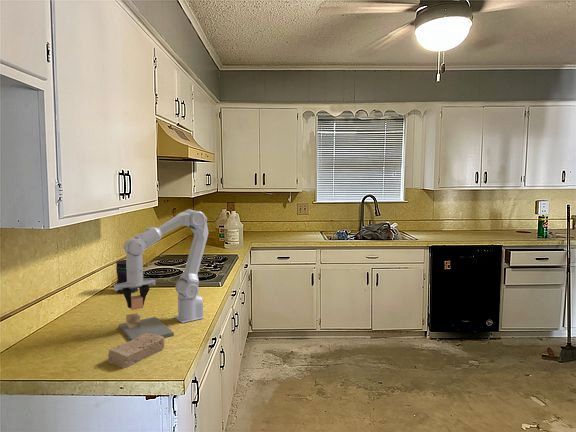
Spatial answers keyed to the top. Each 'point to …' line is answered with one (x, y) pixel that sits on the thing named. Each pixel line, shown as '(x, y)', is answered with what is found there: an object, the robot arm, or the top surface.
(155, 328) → the plate
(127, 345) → the brick
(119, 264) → the storage jar
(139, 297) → the terracotta block
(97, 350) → the top surface
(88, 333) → the top surface
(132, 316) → the maple block
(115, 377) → the top surface
